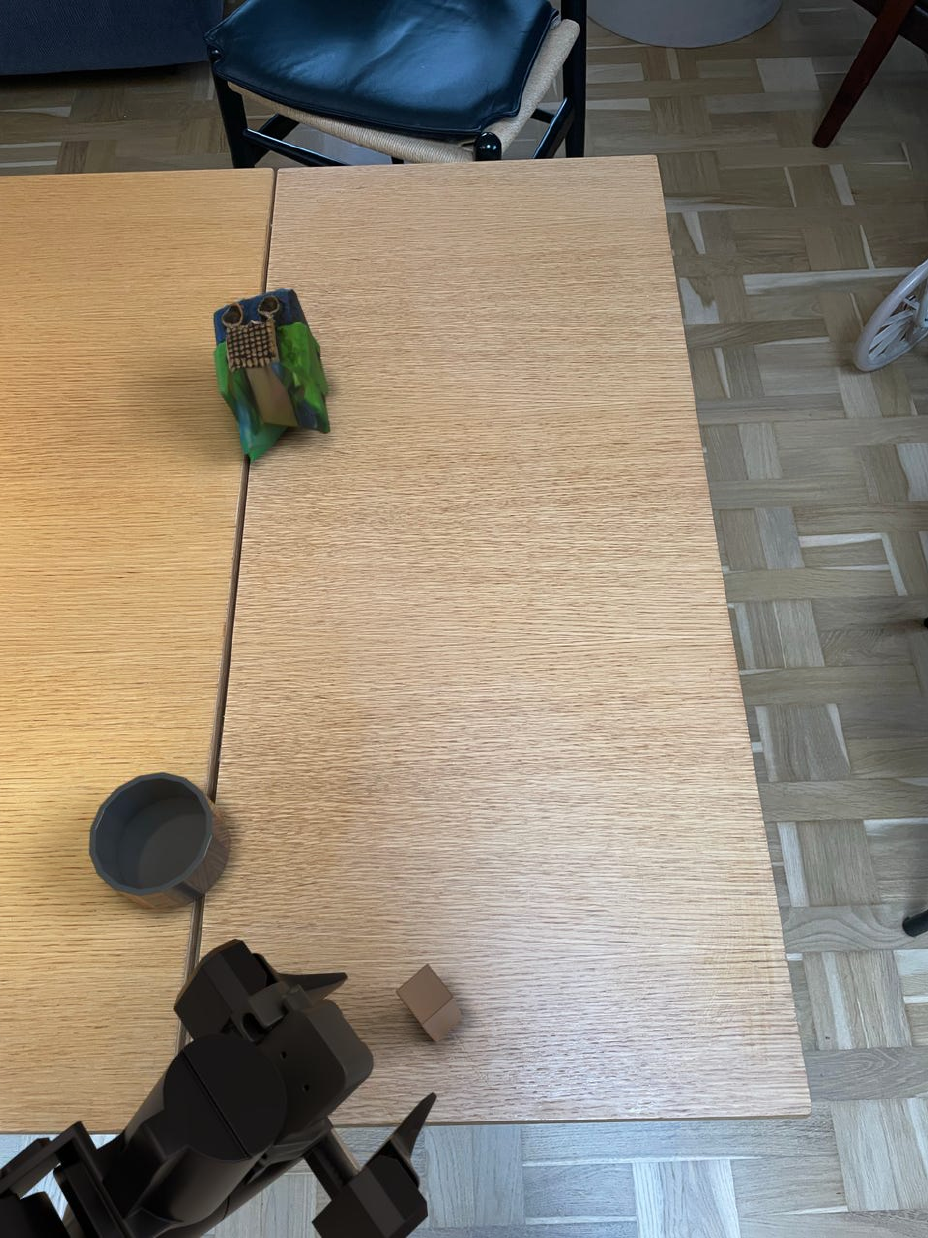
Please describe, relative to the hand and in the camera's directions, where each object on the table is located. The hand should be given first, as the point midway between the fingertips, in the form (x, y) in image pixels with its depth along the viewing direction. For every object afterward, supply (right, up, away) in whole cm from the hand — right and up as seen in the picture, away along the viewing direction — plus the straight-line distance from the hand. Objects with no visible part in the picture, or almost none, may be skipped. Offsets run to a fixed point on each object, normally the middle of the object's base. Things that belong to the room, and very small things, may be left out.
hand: (386, 1036), depth 63 cm
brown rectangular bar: (+3, -3, +10) cm, 11 cm away
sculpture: (-14, +48, +37) cm, 62 cm away
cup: (-19, +8, +17) cm, 26 cm away
